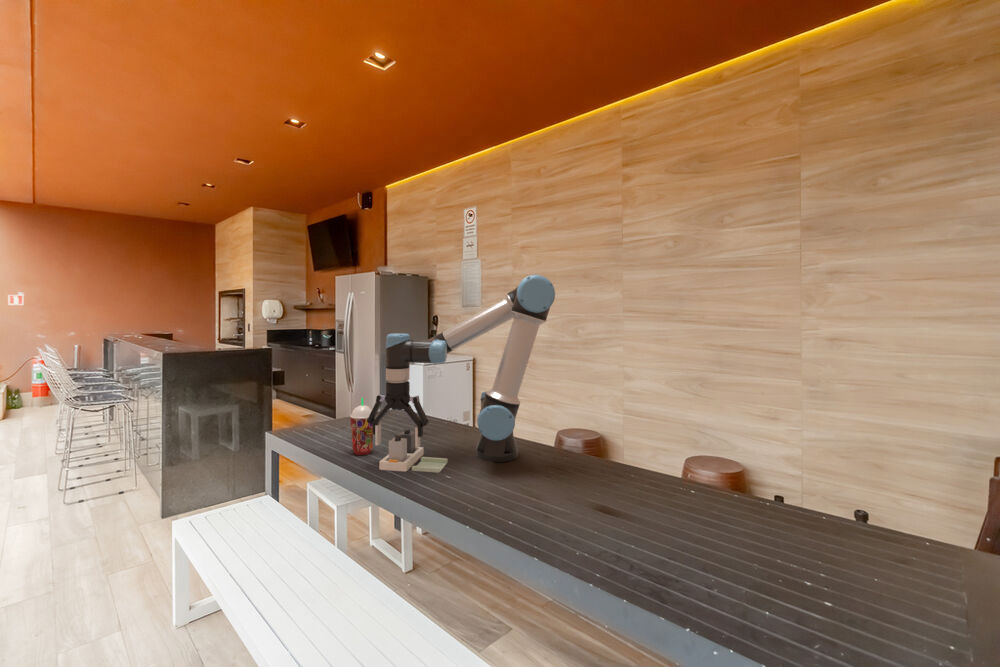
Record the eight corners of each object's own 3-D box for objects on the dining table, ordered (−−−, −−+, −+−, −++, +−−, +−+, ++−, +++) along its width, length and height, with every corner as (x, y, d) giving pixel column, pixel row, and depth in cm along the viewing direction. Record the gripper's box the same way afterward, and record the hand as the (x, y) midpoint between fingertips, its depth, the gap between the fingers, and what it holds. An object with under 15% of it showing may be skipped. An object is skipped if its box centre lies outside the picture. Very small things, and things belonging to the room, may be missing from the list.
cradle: (447, 463, 151) (447, 458, 151) (439, 473, 141) (439, 468, 141) (422, 461, 152) (422, 456, 152) (411, 471, 143) (411, 466, 142)
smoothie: (370, 456, 157) (370, 400, 156) (346, 456, 157) (346, 399, 156) (377, 449, 165) (377, 395, 164) (355, 449, 165) (354, 395, 164)
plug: (406, 462, 148) (406, 434, 148) (401, 466, 144) (401, 437, 144) (394, 461, 149) (394, 433, 149) (388, 466, 145) (388, 437, 144)
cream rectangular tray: (423, 455, 159) (423, 426, 158) (406, 472, 142) (406, 439, 141) (399, 454, 160) (399, 425, 159) (379, 470, 143) (379, 438, 143)
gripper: (438, 380, 147) (437, 444, 148) (366, 377, 151) (367, 440, 152) (431, 384, 140) (431, 451, 141) (356, 381, 143) (356, 446, 144)
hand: (397, 445), depth 146 cm, fingers open, 13 cm apart
